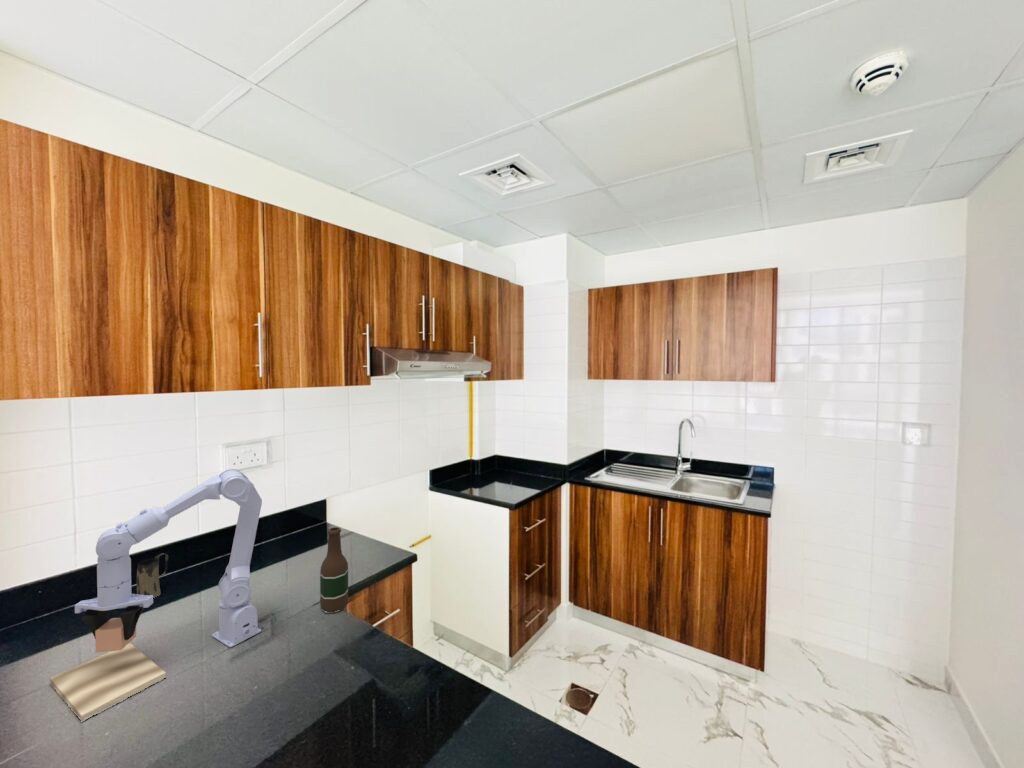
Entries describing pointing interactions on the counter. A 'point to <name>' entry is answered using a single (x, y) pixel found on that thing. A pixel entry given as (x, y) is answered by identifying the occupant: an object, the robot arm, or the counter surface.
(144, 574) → the mug
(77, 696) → the birch board
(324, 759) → the counter surface
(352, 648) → the counter surface
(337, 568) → the beer bottle
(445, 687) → the counter surface
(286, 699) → the counter surface
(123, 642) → the terracotta cube
